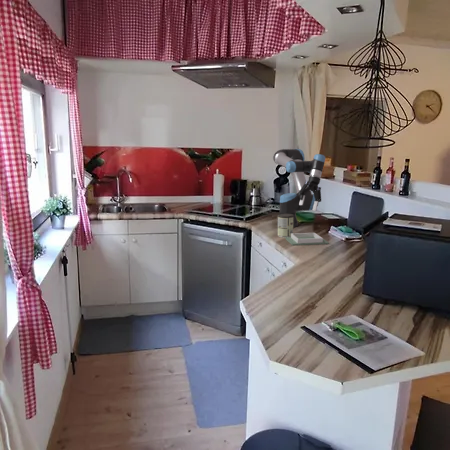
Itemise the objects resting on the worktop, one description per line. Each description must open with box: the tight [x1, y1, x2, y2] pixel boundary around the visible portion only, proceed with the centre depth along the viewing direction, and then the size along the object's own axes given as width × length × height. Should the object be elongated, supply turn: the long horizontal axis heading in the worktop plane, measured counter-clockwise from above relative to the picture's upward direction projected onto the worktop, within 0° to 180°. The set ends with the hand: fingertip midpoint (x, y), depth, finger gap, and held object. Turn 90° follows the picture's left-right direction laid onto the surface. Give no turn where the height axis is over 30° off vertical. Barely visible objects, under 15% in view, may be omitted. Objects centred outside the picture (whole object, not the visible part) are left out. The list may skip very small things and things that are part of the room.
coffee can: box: [277, 213, 294, 239], centre depth 264 cm, size 10×10×14 cm
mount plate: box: [284, 232, 329, 246], centre depth 250 cm, size 17×22×4 cm
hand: (307, 208), depth 268 cm, fingers open, 13 cm apart
